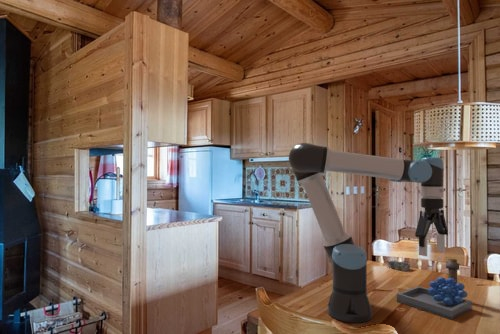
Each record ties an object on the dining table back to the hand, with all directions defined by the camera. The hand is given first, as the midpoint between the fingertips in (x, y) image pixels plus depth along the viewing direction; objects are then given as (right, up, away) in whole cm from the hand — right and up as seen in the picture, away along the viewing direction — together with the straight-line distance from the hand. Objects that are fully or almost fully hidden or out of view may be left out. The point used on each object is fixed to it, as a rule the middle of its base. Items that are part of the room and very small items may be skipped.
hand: (432, 253), depth 125 cm
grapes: (0, -18, -1) cm, 18 cm away
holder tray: (0, -20, -1) cm, 20 cm away
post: (+12, -20, +7) cm, 24 cm away
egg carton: (+10, -22, +50) cm, 55 cm away
